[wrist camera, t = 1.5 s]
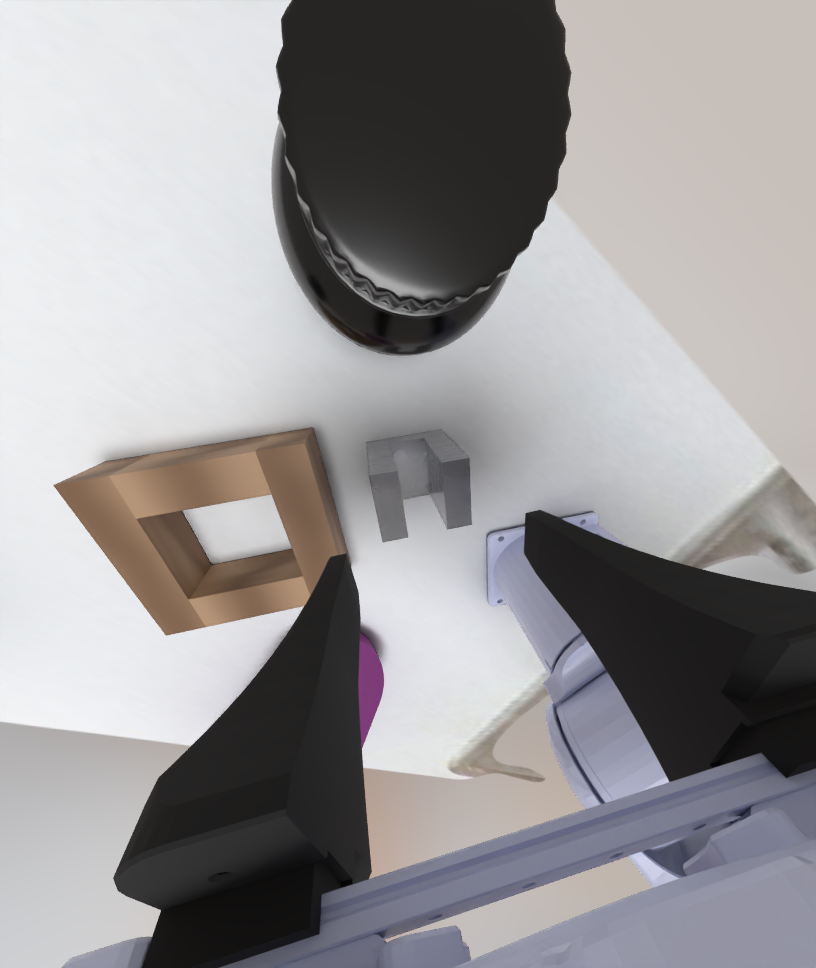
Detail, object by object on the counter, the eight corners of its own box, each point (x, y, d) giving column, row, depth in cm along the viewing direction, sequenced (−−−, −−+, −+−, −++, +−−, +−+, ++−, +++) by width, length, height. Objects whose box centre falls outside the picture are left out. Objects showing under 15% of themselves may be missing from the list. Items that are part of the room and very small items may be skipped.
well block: (313, 427, 18) (304, 443, 15) (351, 564, 23) (350, 595, 20) (104, 461, 17) (53, 485, 14) (191, 597, 22) (166, 635, 19)
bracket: (441, 429, 19) (469, 457, 14) (445, 483, 21) (471, 524, 16) (366, 442, 19) (369, 475, 14) (376, 495, 21) (382, 542, 16)
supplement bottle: (388, 153, 13) (513, -639, 3) (470, 291, 16) (691, 186, 5) (284, 267, 14) (79, 47, 4) (378, 377, 17) (412, 430, 7)
